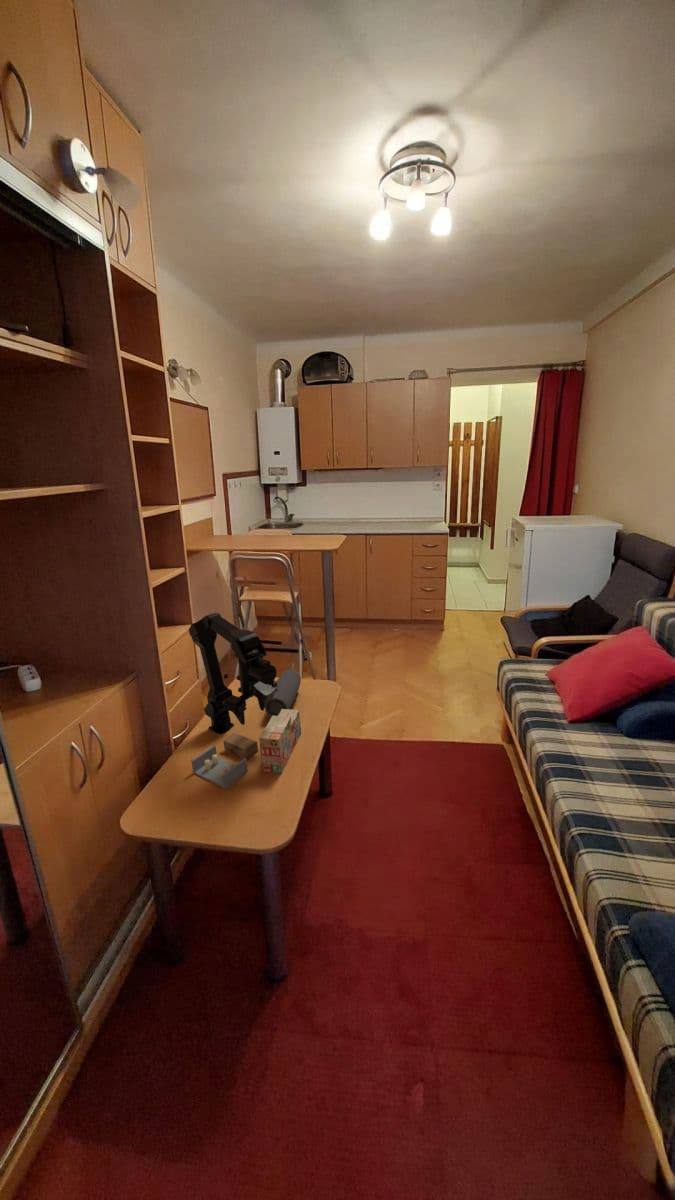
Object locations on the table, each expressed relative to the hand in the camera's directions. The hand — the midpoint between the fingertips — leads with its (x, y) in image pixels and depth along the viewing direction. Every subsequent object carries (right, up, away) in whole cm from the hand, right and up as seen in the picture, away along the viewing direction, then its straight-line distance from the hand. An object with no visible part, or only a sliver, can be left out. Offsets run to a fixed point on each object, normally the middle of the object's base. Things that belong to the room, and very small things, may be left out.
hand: (252, 717), depth 147 cm
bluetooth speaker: (+7, -3, +31) cm, 31 cm away
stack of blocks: (+9, -12, +3) cm, 15 cm away
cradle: (-9, -15, -6) cm, 19 cm away
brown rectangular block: (-4, -12, +4) cm, 14 cm away
